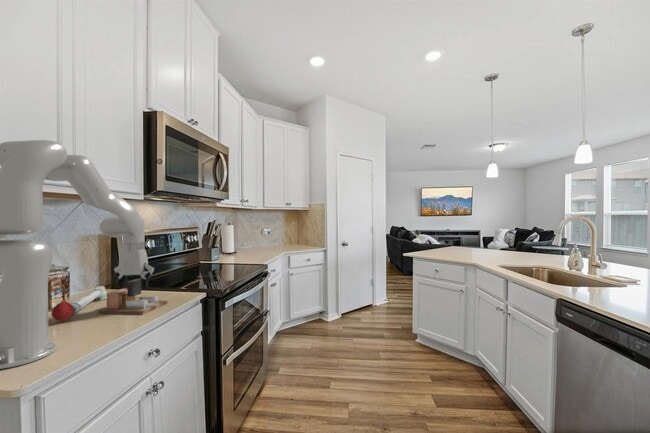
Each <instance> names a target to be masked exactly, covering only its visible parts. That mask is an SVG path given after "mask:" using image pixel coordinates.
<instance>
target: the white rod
mask: <svg viewBox="0 0 650 433" xmlns="http://www.w3.org/2000/svg"><path fill="white" fill-rule="evenodd" d="M107 293H109V292H108V291H107V290H106V288H105V286H104V285H100V286H97V287H95V288H94V291H92V292H90V293H88V294H86V295H84V296H83V297H81V298H79V299H77V300H75V301H74V302H69V303H70V304H71V305H72V306H73V307H74V312H73V314H72V315H71V316H74V315H76V313H77V314H78V313H79V312H80V311H82V309H83V308H84V307H86V306H87V305H89V304H90V303H91V302H93V301H94V302H102V301H104V300H107Z"/></svg>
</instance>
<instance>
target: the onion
mask: <svg viewBox="0 0 650 433" xmlns="http://www.w3.org/2000/svg"><path fill="white" fill-rule="evenodd" d="M66 300H67V299H62V300H61V301H60V302H59V303H57V304H56V305H55V306H54V307H53V309H52V310H51V317H52V318H53V319H54V320H56V321H58V322H61V323H64V322H66V321H67V320H68V319H70V318H71V317H72V316H73V315H72V314H73V312H74V307H73V306H72V305H71V304H70V303H71V302H68V301H66Z"/></svg>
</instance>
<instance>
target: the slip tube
mask: <svg viewBox="0 0 650 433" xmlns="http://www.w3.org/2000/svg"><path fill="white" fill-rule="evenodd" d="M141 280H142V278H141V279H139V278H137V279H133V280H128V282H127V287H126V288H127V294H124V295H122V303H126V301H127V300H130V299H137V300H141V295H142V289H141Z"/></svg>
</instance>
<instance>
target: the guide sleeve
mask: <svg viewBox="0 0 650 433" xmlns="http://www.w3.org/2000/svg"><path fill="white" fill-rule="evenodd" d="M158 300H159V296H158V295H143V294H141V300H137V299H130V300H127V301H126V308H134V309H145V308H147V307H149V306H152V305H154V304H156V303H158Z"/></svg>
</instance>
